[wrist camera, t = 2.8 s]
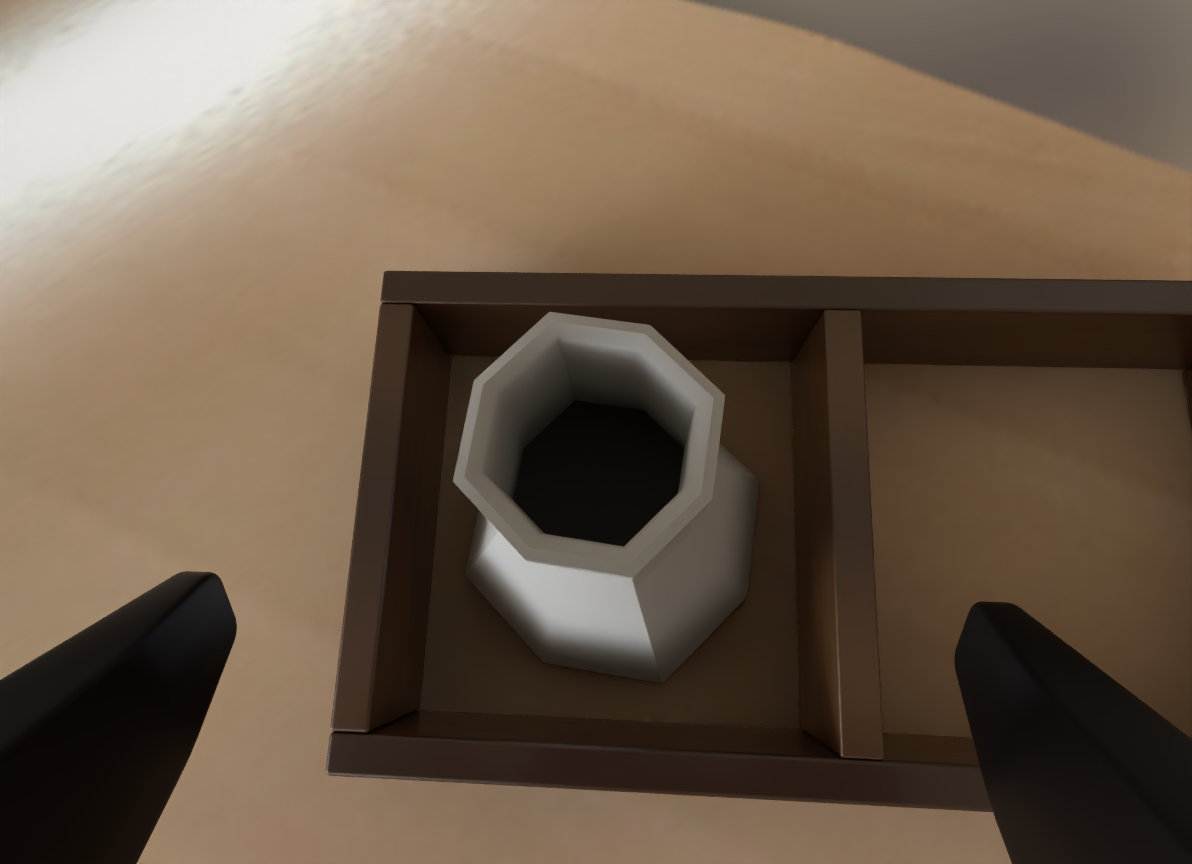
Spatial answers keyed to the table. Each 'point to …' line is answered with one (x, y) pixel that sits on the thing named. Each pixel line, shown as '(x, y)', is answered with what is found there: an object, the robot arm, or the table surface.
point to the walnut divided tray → (822, 516)
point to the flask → (605, 498)
